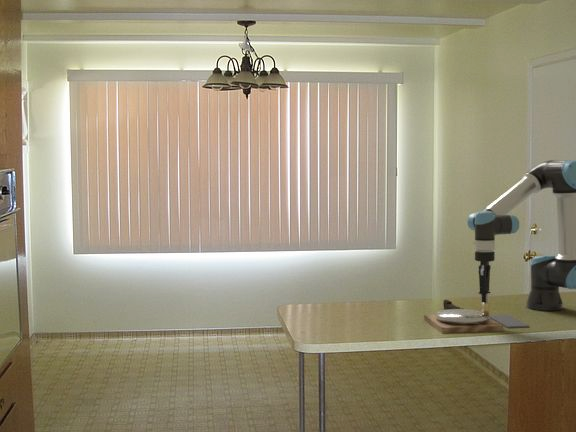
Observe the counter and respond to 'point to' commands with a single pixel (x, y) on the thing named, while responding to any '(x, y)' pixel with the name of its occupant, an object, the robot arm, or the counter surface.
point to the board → (453, 328)
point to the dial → (464, 315)
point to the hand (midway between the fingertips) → (484, 310)
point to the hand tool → (449, 305)
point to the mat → (508, 321)
